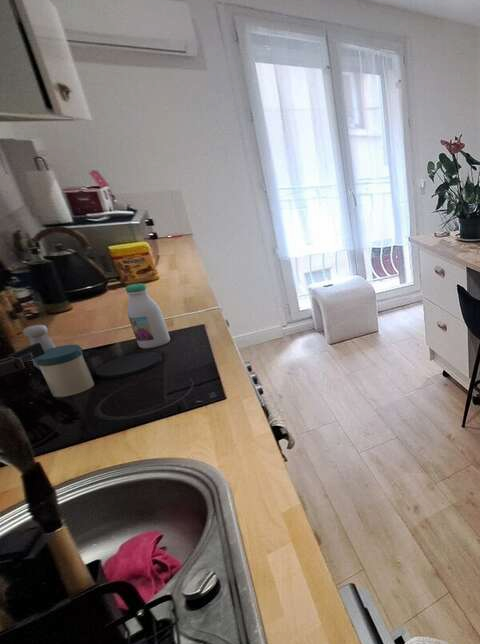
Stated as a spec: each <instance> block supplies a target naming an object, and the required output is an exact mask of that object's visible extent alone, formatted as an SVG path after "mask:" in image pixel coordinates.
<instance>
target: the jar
mask: <svg viewBox="0 0 480 644" xmlns="http://www.w3.org/2000/svg"><path fill="white" fill-rule="evenodd" d="M38 366H39V365H38ZM39 368H40V369H39V371H40V372H41V374H42V376H43V378H44V381H45V383H46V385H47V387H48V389H49V391H50V394H51V395H52V397H55V398H64V397H65V398H66V397H70V396H74V395H77V394H81V393H84V392H85V391H86V392H87V391H88V390H90V389H91V388H93V387H94V386H95V381H94V379H93V376H92V374H91V371H90V369H89V367H88V365H87V362H86V360H85V357H84V355H83V354H82V355H81V356H79V357H77V358H75V359H73V360H70V361H67V362H63V363H59V364H54V365H47V366H39Z"/></svg>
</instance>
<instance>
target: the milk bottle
mask: <svg viewBox="0 0 480 644" xmlns="http://www.w3.org/2000/svg"><path fill="white" fill-rule="evenodd" d="M124 290H125V292H126V294H127V295H128V303H127V307H126V311H127V317H128V320H129V323H130V326H131V328H132V331H133V335H134V338H135V340H136V342H137V345H138V347H139V348H141V349H154V348H158V347H162V346H164V345H167V344H168V343H170V341H171V337H170V334H169V331H168V327H167V324H166V322H165V319H164V315H163V313H162V311H161V308H160V306H159V304H158V303H157V302H156V301H155V300H154V299H153V298H152V297H151V296H150V295H149V294H148V289H147V286H146V283H133V284H129V285H126V286H125V287H124Z"/></svg>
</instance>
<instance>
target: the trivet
mask: <svg viewBox="0 0 480 644" xmlns="http://www.w3.org/2000/svg"><path fill="white" fill-rule="evenodd" d="M162 361H163V357H162V354H161V353H159V352H155V351H143V352H136V353H131V354H127V355H124V356H120V357H117V358H114V359H111V360H108V361H106V362H104V363H102V364H100V366H98V367H97V368H96V369H95V371H94V372H95V375H96V377H97V378H100V379H107V380H108V379H109V380H110V379H119V378H125V377H129V376H133V375H136V374H140V373H144V372H145V371H149V370H150V369H153V368H154V367H157V366H158V365H159V364H160V363H161V362H162Z"/></svg>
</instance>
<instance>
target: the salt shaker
mask: <svg viewBox="0 0 480 644" xmlns="http://www.w3.org/2000/svg"><path fill="white" fill-rule="evenodd" d="M48 332H49V331H48V327H47V326H46V325H44V324H36V325H31V326H27V327H25V328H24V329H23V330H22V333H23V335H24V336H25V337H26V338H28V339H29V346H31V345H33V344H36V343H40V344H41V346H42V348H43V350H47V349H51V348H55V347H57V346H56V344H54V343H53V341H52V339H51V338H49V336H48V335H47V334H48ZM32 363H33V366H34V367H35V368H37V369H38V370H40V368H39V366H38V365H37V364H35V362H34V360H33V359H32Z"/></svg>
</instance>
